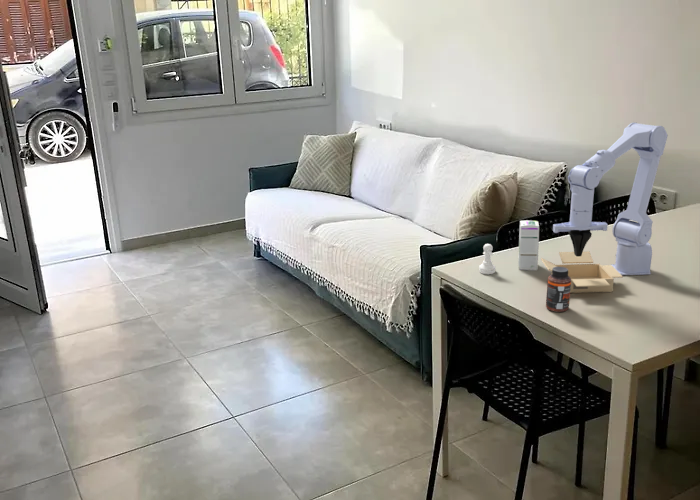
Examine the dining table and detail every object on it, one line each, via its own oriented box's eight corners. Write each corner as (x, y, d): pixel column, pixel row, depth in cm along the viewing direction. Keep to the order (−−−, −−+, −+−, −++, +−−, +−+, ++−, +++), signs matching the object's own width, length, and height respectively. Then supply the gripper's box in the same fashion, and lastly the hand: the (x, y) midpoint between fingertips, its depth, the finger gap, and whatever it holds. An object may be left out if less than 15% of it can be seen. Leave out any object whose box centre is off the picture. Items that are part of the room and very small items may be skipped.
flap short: (593, 262, 194) (589, 252, 198) (593, 261, 194) (589, 251, 197) (562, 263, 195) (559, 253, 198) (562, 262, 194) (559, 252, 198)
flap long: (554, 264, 193) (541, 257, 193) (563, 275, 185) (549, 268, 184) (553, 265, 194) (540, 259, 193) (562, 276, 185) (548, 270, 184)
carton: (608, 276, 196) (609, 263, 194) (629, 298, 180) (630, 284, 179) (551, 277, 196) (551, 264, 195) (566, 299, 181) (567, 285, 180)
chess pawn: (480, 274, 200) (481, 247, 197) (477, 268, 205) (478, 241, 202) (496, 274, 200) (498, 246, 197) (493, 268, 205) (494, 241, 202)
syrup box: (537, 270, 202) (540, 225, 197) (518, 270, 203) (520, 225, 198) (536, 264, 207) (539, 220, 202) (517, 263, 208) (519, 219, 204)
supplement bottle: (565, 314, 172) (568, 274, 168) (542, 310, 175) (545, 270, 171) (571, 306, 177) (574, 267, 173) (549, 302, 180) (552, 263, 176)
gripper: (602, 204, 185) (598, 249, 189) (550, 206, 185) (548, 251, 189) (612, 211, 178) (607, 257, 183) (558, 213, 178) (555, 259, 183)
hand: (577, 255), depth 186 cm, fingers closed
